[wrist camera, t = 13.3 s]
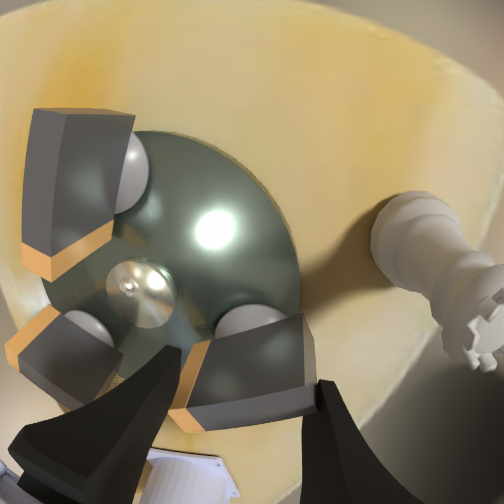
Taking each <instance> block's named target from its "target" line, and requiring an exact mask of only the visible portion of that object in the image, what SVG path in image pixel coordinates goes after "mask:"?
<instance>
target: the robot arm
mask: <svg viewBox="0 0 504 504" xmlns="http://www.w3.org/2000/svg"><path fill="white" fill-rule="evenodd" d="M181 354H182V349H181V348H177V347H174V346H171V345H165V346H164V347H163V348H162V349H161V350H160V351H159V352H158V353H157V354H156V355H155V356H154V357H153V358H152V359H150V360H149V361H148V362H147V363H146V364H145V365H144V366H142V367H141V368H140V369H139V370H138V371H136V372H135V373H134V374H133V375H132V376H130V377H129V378H128V379H126V380H125V381H124V382H122V383H121V384H119V385H118V386H117V387H115V388H114V389H112V390H111V391H109V392H108V393H106V394H104V395H103V396H101V397H99V398H97V399H96V400H94V401H92V402H90V403H88V404H86V405H84V406H82V407H80V408H78V409H76V410H73V411H71V412H68V413H65V414H63V415H60V416H58V417H55V418H52V419H48V420H45V421H41V422H37V423H33V424H29V425H25V426H24V427H23V428H22V429H21V431H20V432H19V433H18V434H17V436H16V437H15V439H14V440H13V441H12V443H11V444H10V446H9V447H8V451H9V454H10V455H11V456H12V458H13V459H14V460H15V461H16V462H17V463H18V464H19V466H20V467H21V468H22V469H23V470H24V472H23V474H22V475H21V477H19V476H18V475H16V474H15V473H14V472H12V471H11V470H9V469H8V468H7V466H6V465H5V464H4V463H3V462H2V461H1V460H0V504H132V502H133V499H134V495H135V492H136V488H137V485H138V482H139V479H140V476H141V473H142V470H143V467H144V464H145V461H146V459H147V460H148V461H149V463H150V464H151V465H152V466H153V468H152V471H151V473H150V476H149V478H148V481H147V484H146V486H145V489H144V491H143V494H142V497H141V500H140V502H139V504H230V499H231V497H236V498H238V497H240V492H239V491H238V489H237V487H236V485H235V483H234V481H233V480H232V478H231V476H230V474H229V472H228V470H227V468H226V466H225V464H224V462H223V460H222V459H221V458H219V457H214V456H203V455H194V454H186V453H178V452H171V451H165V450H159V449H153V448H151V446H152V443H153V441H154V439H155V437H156V435H157V433H158V431H159V429H160V427H161V425H162V423H163V421H164V419H165V417H166V415H167V413H168V411H169V408H170V406H171V404H172V402H173V400H174V397H175V394H176V391H177V388H178V385H179V382H180V368H181ZM317 400H318V412H317V413H313V414H309V415H304V416H303V420H302V431H301V432H302V489H301V497H300V504H424V503H423V502H422V501H420V500H419V499H417V498H416V497H415V496H414V495H412V494H411V493H410V492H409V491H408V490H407V489H405V488H404V487H403V486H402V485H401V484H400V483H399V482H398V481H397V480H396V479H395V478H394V477H393V476H392V475H391V474H390V473H389V472H388V471H387V469H386V468H385V467H384V466H383V465H382V464H381V462H380V461H379V460H378V459H377V457H376V456H375V454H374V453H373V452H372V450H371V449H370V448H369V446H368V445H367V443H366V441H365V440H364V438H363V436H362V435H361V433H360V431H359V430H358V428H357V426H356V424H355V423H354V421H353V419H352V417H351V415H350V413H349V411H348V409H347V407H346V405H345V403H344V401H343V399H342V397H341V395H340V393H339V391H338V388H337V386H336V384H335V383H334V381H328V380H321V379H319V381H318V383H317Z"/></svg>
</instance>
